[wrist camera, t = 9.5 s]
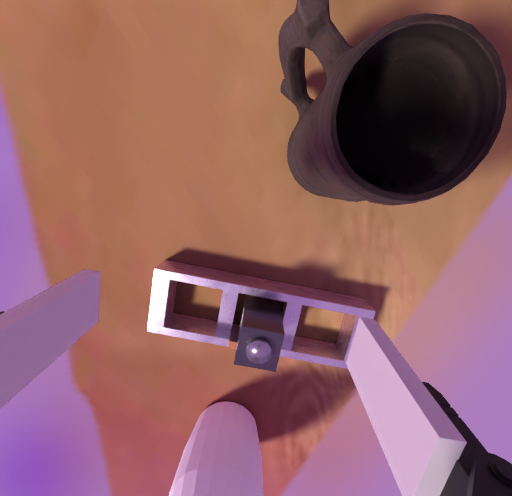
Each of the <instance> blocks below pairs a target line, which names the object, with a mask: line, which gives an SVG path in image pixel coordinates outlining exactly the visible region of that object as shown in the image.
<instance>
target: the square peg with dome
mask: <svg viewBox="0 0 512 496" xmlns="http://www.w3.org/2000/svg"><path fill="white" fill-rule="evenodd" d="M284 335H285V333H284V327H283V320H282V314H281V307H280V301H279V300H274V299H268V298H263V297H258V296H253V295H248V294H246V295H245V300H244V305H243V310H242V315H241V320H240V327H239V334H238V340H237V347H236V354H235V360H234V364H236V365H242V366H247V367H252V368H258V369H263V370H269V371H274V372H276V368H277V364H278V360H279V355H280V351H281V347H282V343H283V339H284Z"/></svg>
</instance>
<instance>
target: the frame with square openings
mask: <svg viewBox="0 0 512 496" xmlns="http://www.w3.org/2000/svg"><path fill="white" fill-rule="evenodd" d="M177 281H180V282H185V283H190V284H195V285H201V286H206V287H211V288H216V289H221V290H223V295H222V300H221V306H220V311H219V317H218V321H213V320H208V319H202V318H197V317H192V316H187V315H181V314H176V313H173V309H174V302H175V295H176V288H177ZM238 293H242V294H248V295H253V296H258V297H263V298H268V299H274V300H279V301H284V302H285V303H284V307H283V312H282V320H283V327H284V333H285V335H284V339H283V343H282V347H281V351H280V355H279V356H282V357H287V358H292V359H298V360H303V361H308V362H314V363H319V364H324V365H330V366H335V367H341V368H346V369H348V367H347V365H346V361H347V358H348V354H349V351H350V348H351V344H352V341H353V338H354V335H355V331H356V328H357V325H358V321H359V318H360V317H363V318H369V319H374V316H375V312H376V311H375V310H374V309H373V308H372V306H371V305H370V304H369V303H368V302H367V301H366V300H365V299H364V298H360V297H355V296H350V295H345V294H340V293H334V292H329V291H324V290H319V289H314V288H309V287H303V286H298V285H293V284H288V283H283V282H278V281H272V280H267V279H262V278H257V277H252V276H247V275H241V274H236V273H231V272H226V271H221V270H216V269H210V268H205V267H200V266H195V265H190V264H185V263H179V262H174V261H169V260H164V261H163V262H162V263H161V264H159V265H158V266H157V267H156V268H154V275H153V283H152V291H151V300H150V308H149V317H148V325H147V331H148V332H153V333H158V334H164V335H169V336H174V337H180V338H185V339H190V340H196V341H201V342H207V343H212V344H217V345H223V346H228V348H231V349H236V347H237V340H238V334H239V327H240V325H234V324H233V319H234V314H235V309H236V304H237V298H238ZM302 305H305V306H310V307H315V308H321V309H326V310H331V311H336V312H341V313H345V314H344V318H343V321H342V324H341V328H340V331H339V335H338V338H337V341H336V344H335V343H330V342H324V341H319V340H314V339H308V338H303V337H298V336H295V333H296V329H297V325H298V321H299V317H300V313H301V309H302Z"/></svg>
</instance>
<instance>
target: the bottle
mask: <svg viewBox="0 0 512 496" xmlns="http://www.w3.org/2000/svg"><path fill="white" fill-rule="evenodd" d="M169 496H263V479H262V459H261V452H260V445H259V439H258V432H257V426H256V422H255V419H254V417H253V416H252V414H251V413H250V412H249V411H248V410H247V409H246V408H245V407H243V406H242V405H240V404H237V403H235V402H228V401H224V402H217V403H215V404H213V405H211V406H209V407H207V408H206V409H205V410H204V411H203V412H202V413H201V415H200V417H199V419H198V421H197V423H196V425H195V427H194V429H193V431H192V434H191V436H190V438H189V440H188V442H187V444H186V447H185V449H184V452H183V455H182V458H181V460H180V463H179V466H178V469H177V472H176V475H175V478H174V481H173V484H172V487H171V490H170V493H169Z"/></svg>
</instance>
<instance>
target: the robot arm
mask: <svg viewBox="0 0 512 496" xmlns="http://www.w3.org/2000/svg"><path fill="white" fill-rule="evenodd" d="M99 300H100V272H98V271H93V270H87V269H84V270H82V271H81V272H79V273H77V274H75V275H73V276H71V277H69V278H68V279H66V280H64V281H62V282H60V283H58V284H56V285H54V286H53V287H51V288H49V289H47V290H45V291H43V292H41V293H39V294H38V295H36V296H34V297H32V298H30V299H28V300H26V301H25V302H23V303H21V304H19V305H17V306H15V307H13V308H11V309H10V310H8V311H6V312H4V311H3V312H0V409H1V408H2V407H3V406H4V405H5V404H6V403H7V402H9V401H10V400H11V399H12V398H13V397H14V396H15V395H16V394H18V393H19V392H20V391H21V390H22V389H23V388H24V387H25V386H27V385H28V384H29V383H30V382H31V381H32V380H33V379H34V378H35V377H37V376H38V375H39V374H40V373H41V372H42V371H43V370H44V369H46V368H47V367H48V366H49V365H50V364H51V363H52V362H53V361H55V360H56V359H57V358H58V357H59V356H60V355H61V354H62V353H64V352H65V351H66V350H67V349H68V348H69V347H70V346H71V345H73V344H74V343H75V342H76V341H77V340H78V339H79V338H80V337H82V336H83V335H84V334H85V333H86V332H87V331H88V330H89V329H90V328H92V327H93V326H94V325H95V324H96V323H97V322H98V321H99ZM346 365H347V367H348V370H349V372H350V374H351V377H352V379H353V381H354V384H355V386H356V388H357V391H358V393H359V395H360V398H361V400H362V402H363V404H364V407H365V409H366V412H367V414H368V416H369V419H370V421H371V423H372V426H373V428H374V430H375V433H376V435H377V437H378V440H379V442H380V444H381V447H382V449H383V452H384V454H385V456H386V459H387V461H388V463H389V466H390V468H391V470H392V473H393V475H394V477H395V480H396V482H397V484H398V487H399V489H400V491H401V494H402V496H512V464H511V463H509V462H508V461H506V460H505V459H502V458H500V457H498V456H497V455H494V454H491V453H488V452H487V451H486V449H485V448H484V447H483V446H482V444H481V443H480V442H479V441H478V439H477V438H476V437H475V436H474V434H473V433H472V432H471V431H470V429H469V428H468V427H467V426H466V424H465V423H464V422H463V421H462V419H461V418H459V417H458V414H457V413H456V412H455V411H454V409H453V408H451V407H450V404H449V403H448V402H447V401H446V400H445V398H444V397H443V396H442V394H441V393H439V392H438V391H437V390H436V389H435V388H434V387H432V386H431V385H430V384H429V383H425V382H421V380H420V379H419V378H418V376H417V375H416V374H415V372H414V371H413V370H412V368H411V367H410V366H409V364H408V363H407V362H406V360H405V359H404V358H403V357H402V356H401V354H400V353H399V351H398V350H397V349H396V347H395V346H394V345H393V343H392V342H391V341H390V339H389V338H388V337H387V335H386V334H385V333H384V331H383V330H382V329H381V327H380V326H379V325H378V323H377V322H376V321H375V319H369V318H363V317H360V318H359V321H358V325H357V328H356V331H355V335H354V338H353V341H352V344H351V348H350V351H349V354H348V358H347V361H346Z"/></svg>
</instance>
